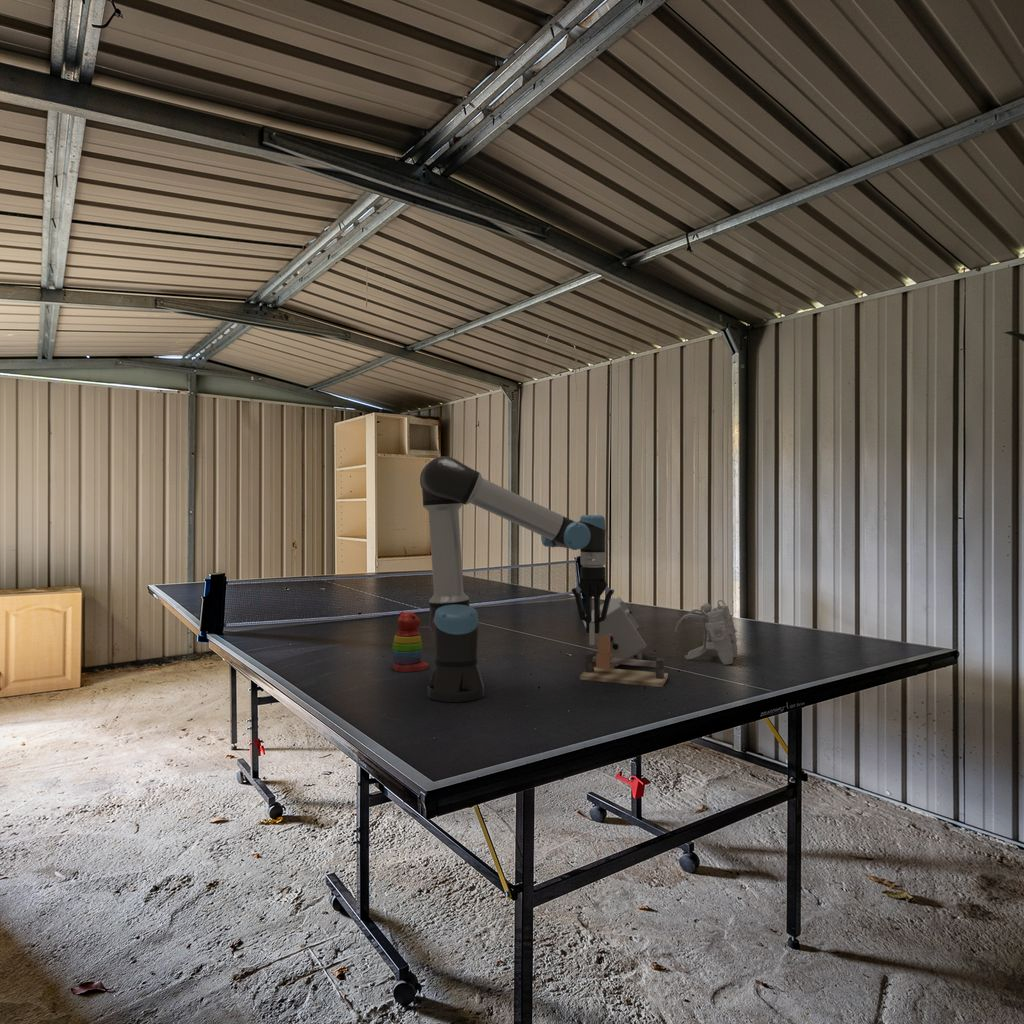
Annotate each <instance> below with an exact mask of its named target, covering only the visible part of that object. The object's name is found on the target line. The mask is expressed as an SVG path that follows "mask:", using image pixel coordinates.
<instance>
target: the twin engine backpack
mask: <svg viewBox="0 0 1024 1024" xmlns="http://www.w3.org/2000/svg"><path fill="white" fill-rule="evenodd" d="M720 602H722V603H723V605H721V604H720ZM696 612H697V613H701V615H699V614H696ZM730 612H731V611H730V608H729V606H728V605H726V603H725V602H724V600H723V599H719V600H717V607H713V608H712V605H711V604H710V603H708V602H705V603H703V604H702V605H701V606H700V609H696V608H695V609H692V610H690V611H689V612H688V613H687V614H684V615H683V616H682V617H680V619H678V621H677V624H676V626H675V629H674V630H675V631H674V632H675V633H677V630H678V626H679V625H680V624H681V622H682V621H683V620H684V619H685V620H688V618H693V619H697V620H699V621H700V622H701V623H702V627H703V645H702V646H698V647H696V648H693V649H691V650H689V651H688V652H687V654H685V655H684V659H685V660H691V659H695V658H698V657H700V656H702V655H703V654H704V653H705V652H708V650H715V651H717V654H718V658H719V659H720V662H721V663H722V664H723V665H731V664H733V663H734V658H736V657H738V645H737V642H738V639H737V635H736V633H737V632H738V631H737V630H736V627H735V623H734V620H733V614H731V613H730Z"/></svg>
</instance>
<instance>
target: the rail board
mask: <svg viewBox="0 0 1024 1024" xmlns="http://www.w3.org/2000/svg"><path fill="white" fill-rule="evenodd" d="M584 657H585V659H584V660H585V661H584V663H585V664H584V668H585V669H584V671H583V672H582V673H581V674H580V675H579V681H580V680H582V681H592V682H603V683H613V684H623V685H624V684H625V685H635V686H643V687H644V686H645V687H655V688H656V687H657V688H663V687H664V685H665V684H666V681H667V679H668V678H669V673H668V672H665V658H663V657H661V658H660V657H658V658H656V659H655V660H645V659H641V660H634V659H621V658H610V663H612V664H620V665H627V666H639V667H650V668H655V671H646V670H633V669H621V668H613V669H612V668H610V669H603V668H596V666H595V663H596V655H595V653H594V652H586V653H585V654H584Z"/></svg>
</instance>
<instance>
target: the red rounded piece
mask: <svg viewBox="0 0 1024 1024" xmlns="http://www.w3.org/2000/svg"><path fill="white" fill-rule="evenodd" d="M420 624H421V620H420V618H419V616H417V614H415V613H414V612H411V611H410V612H409V611H407V612H405V611H401V612H399V616H398V617H397V627H398V630H397V631H396V632H395V635H394V636H393V642H392V647H391V649H392V656H393V662H394V663H393V666H392V669H393V670H394V671H396V672H401V673H402V672H404V673H409V672H411V673H412V672H419V671H425V670H428V669H429V667H430V665H429V663H427V662H425V661H422V660H421V658H422V654H423V642H422V636H421V634H420V633H421V632H419V630H417V629H418V628H419V627H420Z"/></svg>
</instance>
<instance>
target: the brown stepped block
mask: <svg viewBox="0 0 1024 1024" xmlns="http://www.w3.org/2000/svg"><path fill="white" fill-rule="evenodd" d="M597 649H598V651H597V653H595V656H596V662H595V665H596V666H595V667H596V668H603V669H610V668H611V667H612V663H610V658H612V652H610V636H606V635H600V636H599V637H598V647H597ZM611 669H612V668H611Z"/></svg>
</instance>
